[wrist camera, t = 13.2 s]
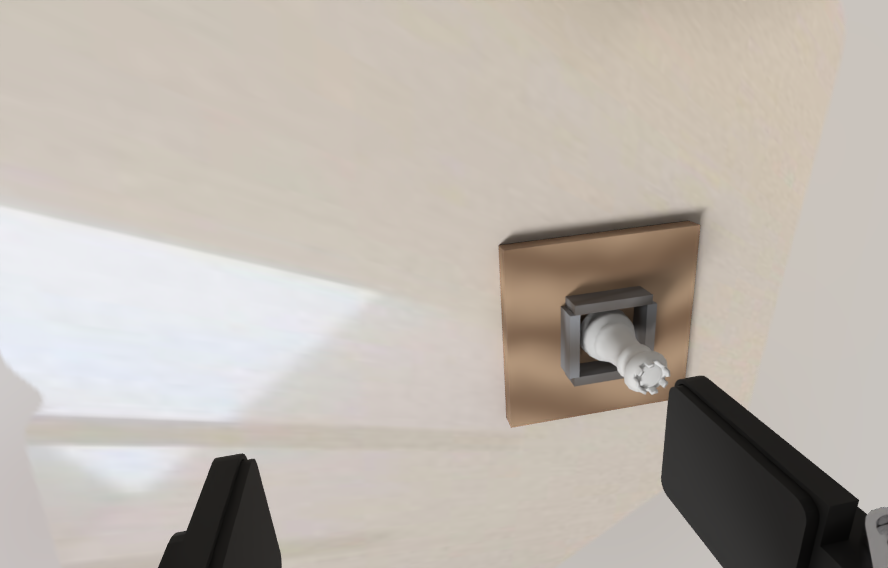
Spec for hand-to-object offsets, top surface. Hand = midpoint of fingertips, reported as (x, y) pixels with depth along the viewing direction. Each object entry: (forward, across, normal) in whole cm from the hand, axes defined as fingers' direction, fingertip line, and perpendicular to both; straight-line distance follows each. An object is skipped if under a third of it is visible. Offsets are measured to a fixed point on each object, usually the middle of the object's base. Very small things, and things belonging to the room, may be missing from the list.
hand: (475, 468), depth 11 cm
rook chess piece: (+27, -16, +12) cm, 33 cm away
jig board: (+28, -16, +12) cm, 35 cm away
